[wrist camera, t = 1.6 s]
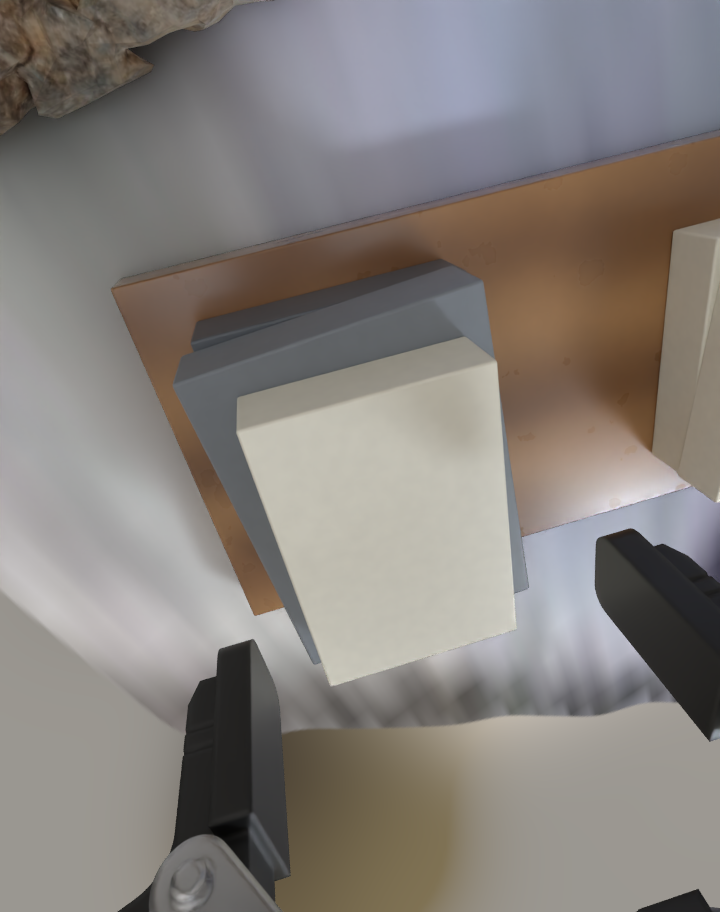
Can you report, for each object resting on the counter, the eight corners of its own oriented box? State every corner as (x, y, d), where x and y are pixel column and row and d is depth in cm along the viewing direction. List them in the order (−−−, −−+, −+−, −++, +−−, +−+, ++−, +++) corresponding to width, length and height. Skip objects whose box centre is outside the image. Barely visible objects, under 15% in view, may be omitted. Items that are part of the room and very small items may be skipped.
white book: (236, 396, 13) (235, 431, 11) (465, 335, 14) (498, 359, 12) (321, 637, 18) (330, 687, 16) (491, 586, 18) (517, 630, 16)
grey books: (180, 316, 16) (161, 363, 12) (452, 246, 17) (513, 271, 13) (283, 585, 22) (292, 672, 18) (482, 526, 23) (530, 600, 19)
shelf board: (119, 278, 17) (109, 288, 15) (914, 80, 19) (963, 74, 17) (253, 592, 24) (254, 616, 23) (817, 427, 26) (847, 441, 24)
